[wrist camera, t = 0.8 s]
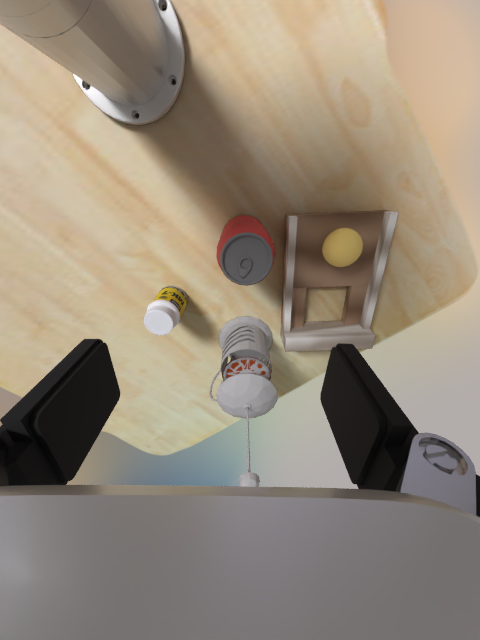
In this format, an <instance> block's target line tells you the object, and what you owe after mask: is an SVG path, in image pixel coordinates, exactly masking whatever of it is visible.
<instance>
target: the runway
mask: <svg viewBox="0 0 480 640" xmlns="http://www.w3.org/2000/svg"><path fill="white" fill-rule="evenodd" d="M397 216H398V212H394V211H388V210H381V211H359V212H337V213H315V214H293V215H286V224H285V246H284V268H283V290H282V313H281V339H282V342H283V346H284V349H285V352H291V351H317V350H331V349H332V347H336V345H337V344H338V343H344V344H353V345H354V346H355V347H356V349H370V348H372V347H373V343H374V340H375V336H376V335H375V334H374V333H373V332H372V331H371V330H370V325H371V321H372V317H373V313H374V309H375V305H376V301H377V297H378V293H379V289H380V285H381V281H382V277H383V273H384V269H385V265H386V261H387V257H388V253H389V249H390V245H391V241H392V237H393V233H394V228H395V224H396V220H397ZM340 228H349V229H353V230H354V231H356V232H357V233H358V234H359V235H360V236H361V238H362V242H363V249H362V253H361V255H360V256H359V258H358V259H357V260H356V261H355V262H354V263H352V264H350V265H348V266H345V267H336V266H333V265H331V264H329V263H328V262H327V261H326V260H325V258H324V256H323V252H322V247H323V243H324V241H325V239H326V237H327V236H328V235H329V234H330V233H331V232H333V231H335V230H337V229H340ZM339 286H347V292H346V297H345V303H344V309H343V314H342V320H341V321H322V322H304V312H305V301H306V291H307V288H315V287H339Z"/></svg>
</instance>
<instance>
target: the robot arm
mask: <svg viewBox="0 0 480 640" xmlns="http://www.w3.org/2000/svg"><path fill="white" fill-rule="evenodd" d="M164 7H166V8H167V9H166V11H163V8H164ZM0 24H1V25H3V26H4V27H6V28H7V29H9V30H10V31H11V32H13V33H14V34H16V35H17V36H19V37H20V38H22V39H23V40H25V41H26V42H28V43H29V44H31V45H32V46H33V47H35V48H36V49H38V50H39V51H41V52H42V53H44V54H45V55H47V56H48V57H50V58H51V59H52V60H54V61H55V62H57V63H58V64H60V65H61V66H63V67H64V68H66V69H67V70H69V71H70V72H71V73H72V75H73V77H74V79H75V81H76V82H77V84H78V85H79V87H80V88H81V90H82V91H83V93H84V94H85V95H86V96H87V97H88V98H89V100H90V101H91V102H92V103H93V104H94V105H95V106H96V107H98V108H99V109H100V110H101V111H102V112H104V113H105V114H107V115H109V116H110V117H112V118H114V119H116V120H118V121H120V122H123V123H127V124H131V125H144V124H148V123H152V122H154V121H156V120H158V119H159V118H161V117H162V116H163V115H164V114H166V113H167V112H168V111H169V109H170V108H171V107H172V105H173V104H174V103H175V101H176V99H177V96H178V94H179V92H180V89H181V85H182V82H183V78H184V68H185V50H184V43H183V37H182V31H181V28H180V25H179V22H178V18H177V16H176V13H175V11H174V8H173V6H172V3H171V1H170V0H0ZM173 80H176V84H175V85H173V84H172V82H173ZM89 85H90V89H89V88H88V86H89ZM137 114H139V118H138V119H137V117H136V115H137ZM119 397H120V390H119V386H118V382H117V379H116V375H115V372H114V368H113V365H112V361H111V357H110V354H109V350H108V347H107V344H106V343H103V341H102V340H100V339H84V340H83V341H82V342H81V343H80V344H78V345H77V346H76V347H75V348H74V349H73V350H72V351H71V352H70V353H69V354H68V355H67V356H66V357H65V358H64V359H63V360H62V361H61V362H60V363H59V364H58V365H57V366H56V367H55V368H53V369H52V370H51V371H50V372H49V373H48V374H47V375H46V376H45V377H44V378H43V379H42V380H41V381H40V382H39V383H38V384H37V385H36V386H35V387H34V388H33V389H32V390H31V391H30V392H29V393H27V394H26V395H25V396H24V397H23V398H22V399H21V400H20V401H19V402H18V403H17V404H16V405H15V406H14V407H13V408H12V409H11V410H10V411H9V412H8V413H7V414H6V415H5V416H4V417H2V418H1V420H0V421H1V422H2V424H3V425H2V426H1V427H0V640H480V476H478V475H476V472H475V468H474V465H473V463H472V461H471V460H470V458H469V457H468V456H467V455H466V453H464V451H463V450H462V449H460V448H459V447H458V446H456V445H455V444H454V443H453V442H451V441H449V440H447V439H446V438H444V437H441V436H438V435H436V434H431V433H418V431H417V430H416V429H415V428H414V426H413V425H412V423H411V422H410V421H409V419H408V418H407V417H406V415H405V414H404V413H403V411H402V410H401V408H400V407H399V406H398V404H397V403H396V402H395V400H394V399H393V397H392V396H391V395H390V394H389V392H388V391H387V389H386V388H385V387H384V385H383V384H382V382H381V381H380V380H379V379H378V377H377V376H376V374H375V373H374V372H373V370H372V369H371V368H370V366H369V365H368V364H367V362H366V361H365V359H364V358H363V357H362V356H361V354H360V353H359V351H358V350H357V349H356V347H355V346H354V345H353V344H344V343H338V344H337V345H336V347H332V349H331V353H330V358H329V362H328V366H327V370H326V374H325V378H324V383H323V387H322V391H321V403H322V406H323V408H324V411H325V414H326V416H327V419H328V422H329V424H330V427H331V429H332V432H333V435H334V437H335V440H336V443H337V445H338V448H339V450H340V453H341V456H342V458H343V461H344V463H345V466H346V469H347V471H348V474H349V476H350V479H351V481H352V483H353V484H357V486H358V488H359V489H337V488H299V487H295V488H294V487H239V486H238V487H237V486H149V485H148V486H147V485H144V486H143V485H142V486H141V485H66V484H67V482H68V481H70V480H72V479H73V478H74V476H75V475H76V473H77V471H78V470H79V468H80V466H81V464H82V463H83V461H84V459H85V458H86V456H87V454H88V452H89V451H90V449H91V447H92V445H93V444H94V442H95V440H96V438H97V437H98V435H99V433H100V432H101V430H102V428H103V426H104V425H105V423H106V421H107V419H108V418H109V416H110V414H111V412H112V411H113V409H114V407H115V405H116V404H117V402H118V400H119Z"/></svg>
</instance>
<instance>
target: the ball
mask: <svg viewBox="0 0 480 640" xmlns="http://www.w3.org/2000/svg"><path fill="white" fill-rule="evenodd" d="M362 249H363V242H362V238H361V236H360V235H359V234H358V233H357V232H356V231H354V230H353V229H349V228H340V229H337V230H335V231H333V232H331V233H330V234H329V235H328V236H327V237H326V239H325V241H324V243H323V247H322V252H323V256H324V258H325V260H326V261H327V262H328V263H329V264H331V265H333V266H336V267H345V266H348V265H350V264H352V263H354V262H355V261H356V260H357V259H358V258H359V256H360V255H361V253H362Z"/></svg>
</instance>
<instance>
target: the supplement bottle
mask: <svg viewBox="0 0 480 640" xmlns="http://www.w3.org/2000/svg"><path fill="white" fill-rule="evenodd" d="M186 305H187V296H186V294H185V292H184V291H183V290H182V289H180V288H178V287H176V286H166V287H164V288H163V289H161V291H160V292H159V293H158V294H157V296H156V297H155V298H154V299H153V301H152V302H151V303H150V305H149V306H148V308H147V313H146V315H145V317H144V324H145V326H146V328H147V329H148V330H149V331H150V332H151V333H153V334H156V335H166V334H168V333H169V332H171V330H172V329H173V327H175V326H176V325H177V324H178V323H179V321H180V318H181V316H182V314H183V312H184V310H185V307H186Z"/></svg>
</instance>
